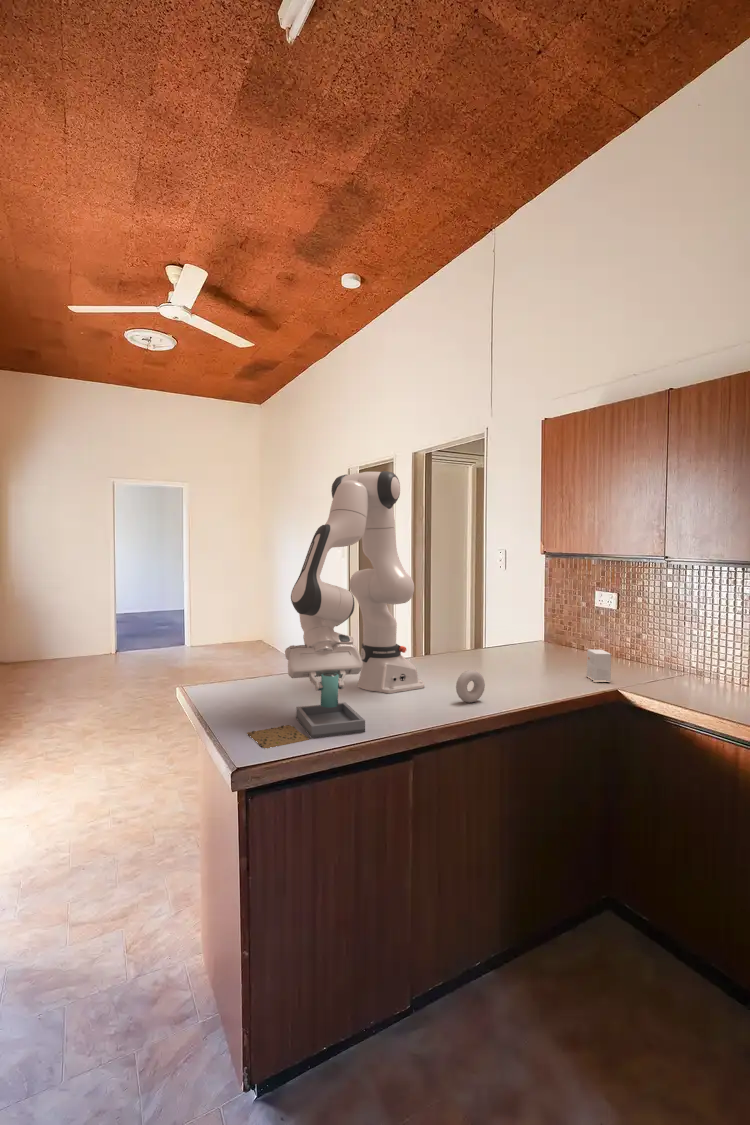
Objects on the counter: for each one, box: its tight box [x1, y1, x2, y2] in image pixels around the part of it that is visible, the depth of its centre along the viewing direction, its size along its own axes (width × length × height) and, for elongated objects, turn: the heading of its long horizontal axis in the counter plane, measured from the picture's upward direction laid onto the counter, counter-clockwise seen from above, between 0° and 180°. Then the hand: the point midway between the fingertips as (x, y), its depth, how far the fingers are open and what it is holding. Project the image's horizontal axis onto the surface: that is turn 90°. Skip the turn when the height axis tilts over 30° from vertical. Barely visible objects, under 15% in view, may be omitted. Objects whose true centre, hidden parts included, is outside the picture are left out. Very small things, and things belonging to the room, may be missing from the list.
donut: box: [455, 669, 486, 703], centre depth 165 cm, size 10×4×10 cm, turn 116°
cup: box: [320, 673, 340, 708], centre depth 142 cm, size 4×4×8 cm
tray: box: [295, 701, 366, 739], centre depth 143 cm, size 14×16×3 cm
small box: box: [586, 649, 612, 682], centre depth 195 cm, size 8×6×10 cm
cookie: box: [246, 724, 310, 749], centre depth 134 cm, size 12×12×1 cm
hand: (330, 688), depth 142 cm, fingers closed on cup, 4 cm apart
